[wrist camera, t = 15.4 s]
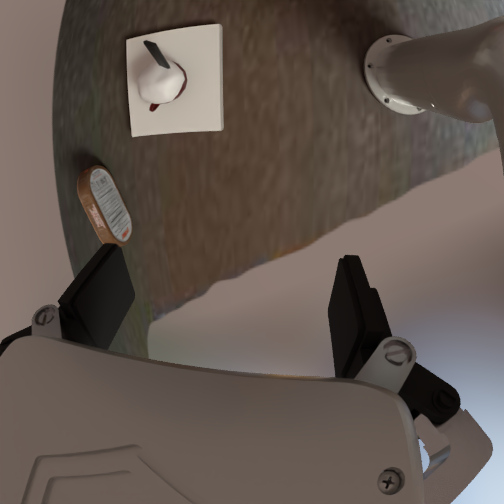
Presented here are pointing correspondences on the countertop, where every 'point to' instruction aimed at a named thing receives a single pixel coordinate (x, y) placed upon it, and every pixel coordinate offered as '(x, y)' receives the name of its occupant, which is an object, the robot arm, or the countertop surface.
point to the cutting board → (197, 88)
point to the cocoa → (160, 79)
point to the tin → (104, 205)
